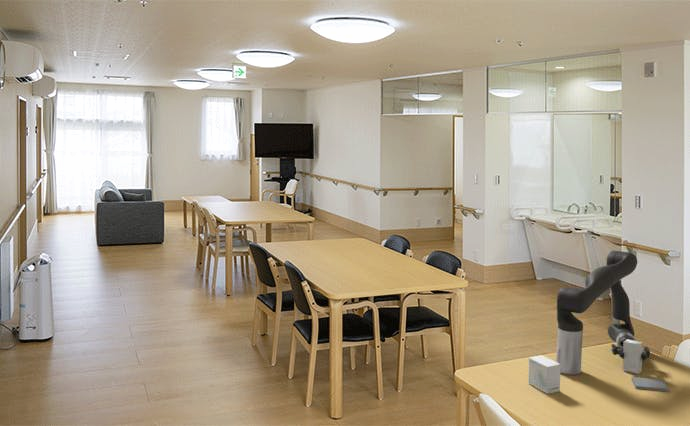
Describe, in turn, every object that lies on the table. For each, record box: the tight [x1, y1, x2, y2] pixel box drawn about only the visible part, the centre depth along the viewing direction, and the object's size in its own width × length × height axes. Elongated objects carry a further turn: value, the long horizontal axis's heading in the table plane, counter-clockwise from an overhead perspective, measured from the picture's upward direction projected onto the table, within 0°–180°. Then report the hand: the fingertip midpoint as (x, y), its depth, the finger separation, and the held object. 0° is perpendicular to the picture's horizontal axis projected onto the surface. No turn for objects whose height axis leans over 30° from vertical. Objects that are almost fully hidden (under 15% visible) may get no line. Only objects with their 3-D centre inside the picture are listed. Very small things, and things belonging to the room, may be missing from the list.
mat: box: [631, 376, 669, 392], centre depth 239 cm, size 11×9×1 cm
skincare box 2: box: [622, 339, 643, 375], centre depth 252 cm, size 6×4×12 cm
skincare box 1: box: [528, 354, 561, 395], centre depth 236 cm, size 10×6×10 cm, turn 23°
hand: (633, 357), depth 250 cm, fingers closed on skincare box 2, 7 cm apart
